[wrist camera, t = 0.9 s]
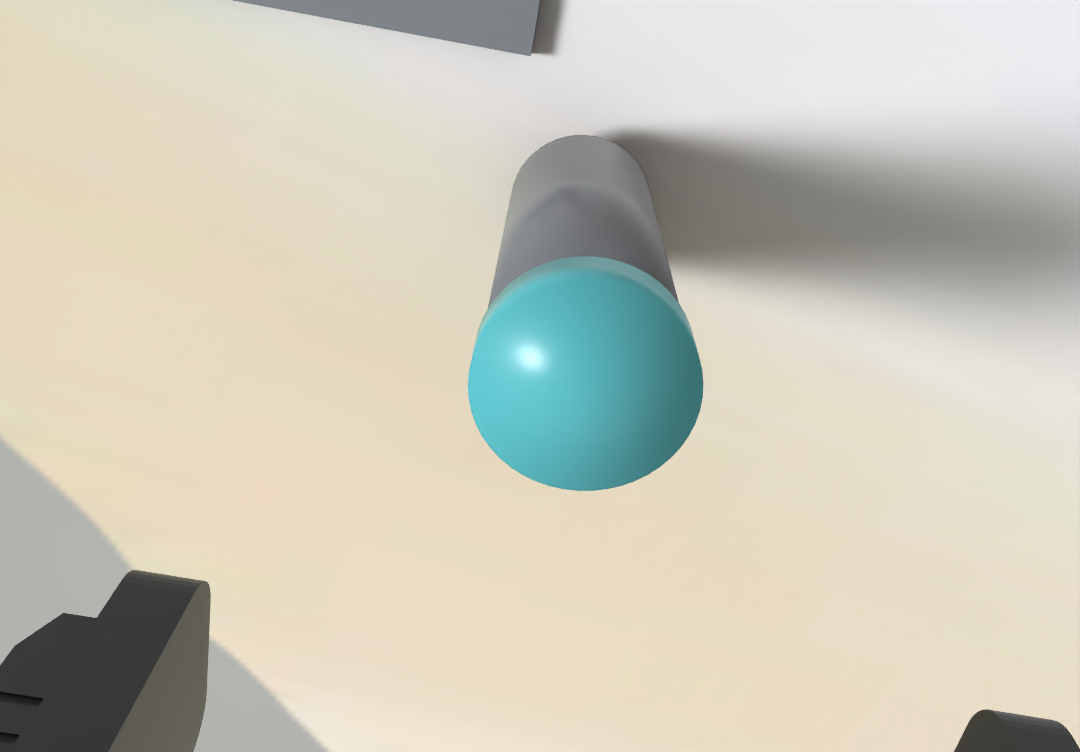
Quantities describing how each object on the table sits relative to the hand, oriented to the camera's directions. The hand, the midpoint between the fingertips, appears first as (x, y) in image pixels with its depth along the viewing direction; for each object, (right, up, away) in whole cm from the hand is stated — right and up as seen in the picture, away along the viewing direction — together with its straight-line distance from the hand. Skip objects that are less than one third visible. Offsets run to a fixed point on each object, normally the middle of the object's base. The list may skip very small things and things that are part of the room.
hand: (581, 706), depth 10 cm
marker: (+1, +9, +18) cm, 20 cm away
